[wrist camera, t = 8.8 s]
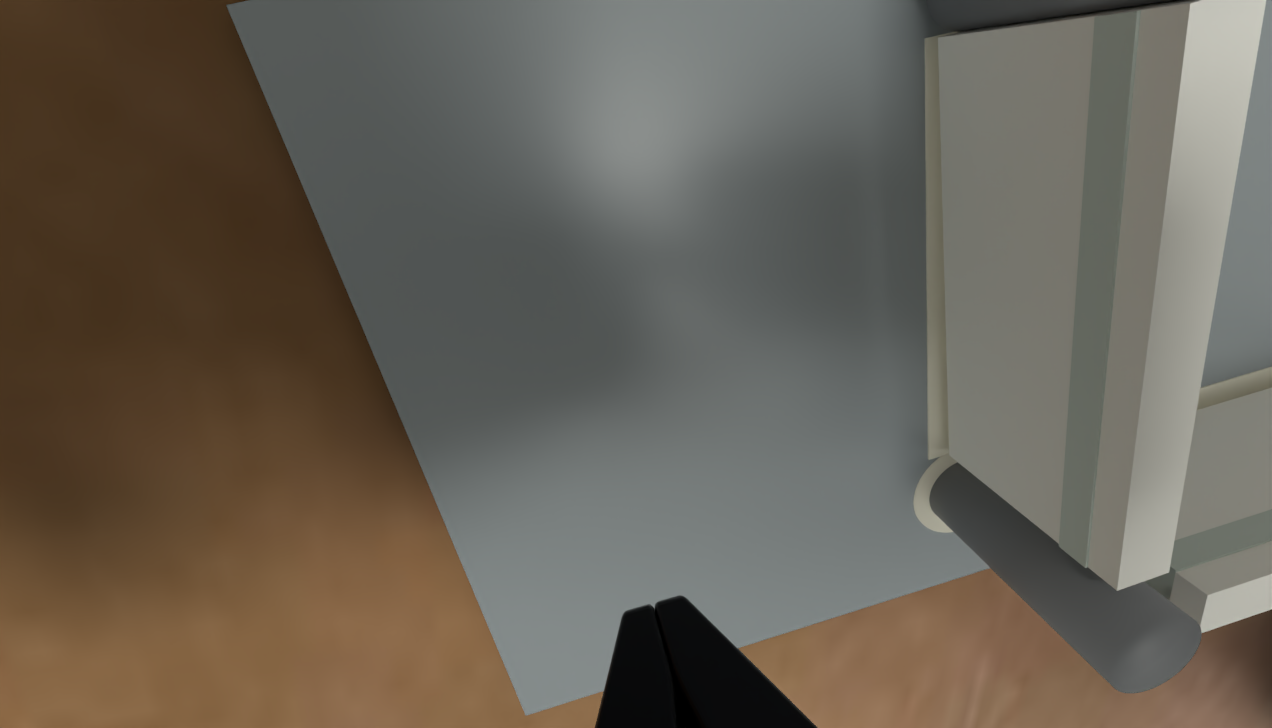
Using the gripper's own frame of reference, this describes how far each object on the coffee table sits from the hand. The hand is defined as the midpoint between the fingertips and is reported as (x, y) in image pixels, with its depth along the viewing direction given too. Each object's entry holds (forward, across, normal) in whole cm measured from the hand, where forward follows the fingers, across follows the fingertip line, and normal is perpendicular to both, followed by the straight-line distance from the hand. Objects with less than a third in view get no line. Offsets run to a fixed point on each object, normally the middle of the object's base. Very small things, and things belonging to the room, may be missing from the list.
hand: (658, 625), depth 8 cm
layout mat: (+6, -8, -1) cm, 10 cm away
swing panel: (+5, -8, -2) cm, 10 cm away
